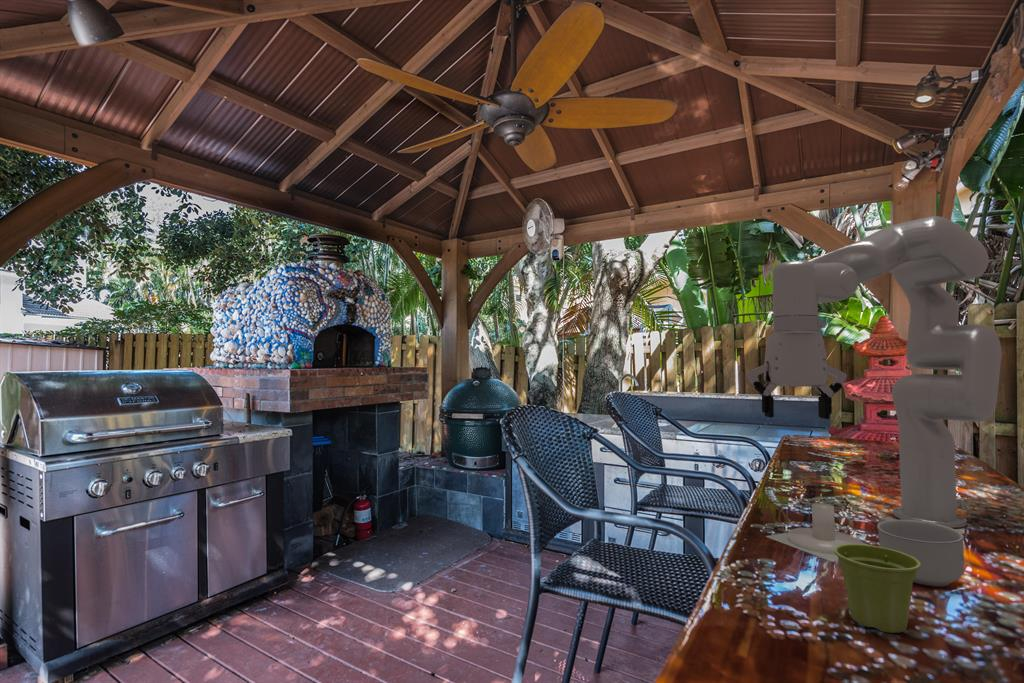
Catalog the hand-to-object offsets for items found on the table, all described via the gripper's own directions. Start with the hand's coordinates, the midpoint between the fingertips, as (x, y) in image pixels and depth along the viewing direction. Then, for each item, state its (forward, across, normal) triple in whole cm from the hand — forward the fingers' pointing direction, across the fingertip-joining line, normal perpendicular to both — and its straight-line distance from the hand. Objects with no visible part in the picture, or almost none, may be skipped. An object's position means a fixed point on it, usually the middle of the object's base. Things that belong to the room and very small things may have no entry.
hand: (796, 417), depth 98 cm
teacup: (+24, -14, +11) cm, 30 cm away
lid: (+23, -5, -1) cm, 24 cm away
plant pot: (+24, 0, +29) cm, 38 cm away
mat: (+24, -5, -1) cm, 24 cm away
